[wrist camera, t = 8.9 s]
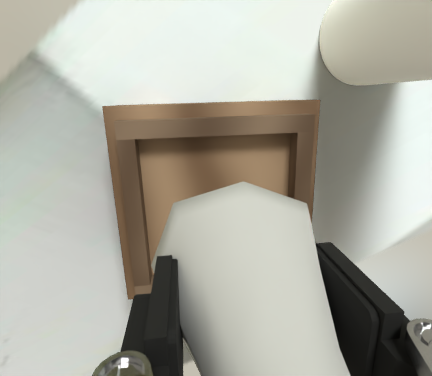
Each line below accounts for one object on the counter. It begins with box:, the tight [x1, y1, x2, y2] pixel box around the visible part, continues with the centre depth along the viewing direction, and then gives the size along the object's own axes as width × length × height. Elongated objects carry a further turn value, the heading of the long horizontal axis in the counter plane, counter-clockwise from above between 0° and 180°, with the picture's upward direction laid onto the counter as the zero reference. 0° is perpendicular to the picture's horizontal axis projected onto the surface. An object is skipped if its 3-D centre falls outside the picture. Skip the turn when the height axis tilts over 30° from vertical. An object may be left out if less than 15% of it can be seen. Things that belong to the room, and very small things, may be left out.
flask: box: [151, 181, 350, 376], centre depth 8 cm, size 7×7×10 cm
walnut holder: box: [102, 100, 320, 299], centre depth 21 cm, size 13×13×6 cm
